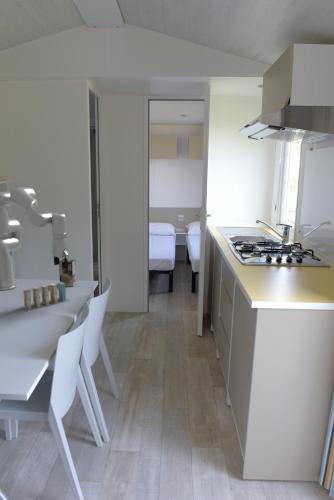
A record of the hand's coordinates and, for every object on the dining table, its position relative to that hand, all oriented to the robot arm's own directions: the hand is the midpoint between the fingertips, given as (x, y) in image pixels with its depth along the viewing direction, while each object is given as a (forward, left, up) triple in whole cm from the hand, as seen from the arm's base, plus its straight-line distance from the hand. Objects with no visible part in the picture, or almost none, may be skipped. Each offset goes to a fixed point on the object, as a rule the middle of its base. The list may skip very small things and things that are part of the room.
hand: (60, 266), depth 211 cm
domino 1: (0, -20, -20) cm, 28 cm away
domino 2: (0, -15, -20) cm, 25 cm away
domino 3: (0, -10, -20) cm, 22 cm away
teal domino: (0, 0, -20) cm, 20 cm away
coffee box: (-24, +16, -20) cm, 35 cm away
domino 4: (0, -5, -20) cm, 20 cm away
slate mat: (0, -10, -20) cm, 23 cm away
